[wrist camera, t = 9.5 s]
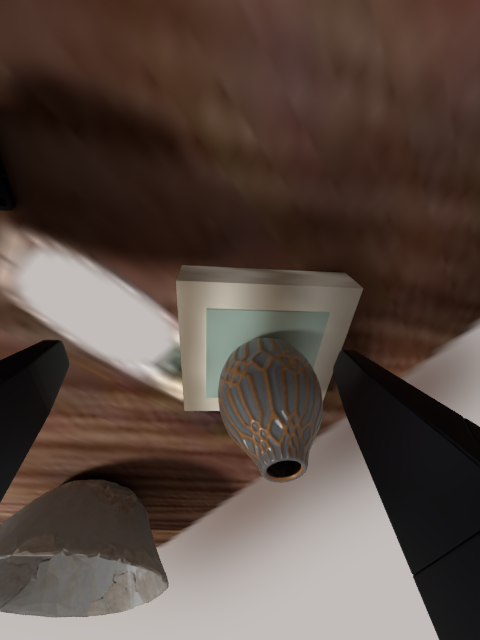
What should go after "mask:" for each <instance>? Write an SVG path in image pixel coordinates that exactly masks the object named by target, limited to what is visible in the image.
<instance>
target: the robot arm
mask: <svg viewBox="0 0 480 640" xmlns="http://www.w3.org/2000/svg"><path fill="white" fill-rule="evenodd" d="M2 198H3V199H5V200H6V202H7V205H6V204H4V202H3V201H2ZM15 206H16V203H15V199H14V197H13V194H12V191H11V188H10V185H9V183H8V180H7V177H6V172H5V169H4V166H3V164H2V161H1V158H0V210H4V211H6V210H12V209H14V208H15ZM68 368H69V359H68V356H67V353H66V350H65V347H64V344H63V342H62V341H60V340H43V341H41V342H39V343H37V344H35V345H32V346H30V347H28V348H26V349H24V350H22V351H19V352H17V353H15V354H13V355H11V356H9V357H6V358H4V359H2V360H0V502H1V500H2V499H3V497H4V495H5V493H6V491H7V489H8V488H9V486H10V484H11V482H12V480H13V479H14V477H15V475H16V473H17V471H18V470H19V468H20V466H21V464H22V462H23V461H24V459H25V457H26V455H27V453H28V452H29V450H30V448H31V446H32V444H33V442H34V441H35V439H36V437H37V435H38V433H39V432H40V430H41V428H42V426H43V424H44V423H45V421H46V419H47V417H48V415H49V413H50V411H51V409H52V406H53V404H54V402H55V399H56V397H57V394H58V392H59V390H60V387H61V385H62V382H63V380H64V378H65V375H66V373H67V370H68ZM333 374H334V377H335V381H336V384H337V387H338V391H339V394H340V397H341V401H342V404H343V407H344V410H345V413H346V416H347V418H348V421H349V423H350V425H351V428H352V430H353V433H354V435H355V438H356V440H357V443H358V445H359V447H360V450H361V452H362V454H363V457H364V459H365V462H366V464H367V466H368V469H369V471H370V474H371V476H372V478H373V481H374V483H375V486H376V488H377V490H378V493H379V495H380V498H381V500H382V503H383V505H384V508H385V510H386V512H387V515H388V517H389V519H390V522H391V524H392V527H393V529H394V532H395V534H396V536H397V539H398V541H399V543H400V546H401V548H402V551H403V553H404V556H405V558H406V560H407V563H408V565H409V567H410V570H411V572H412V574H413V578H414V580H415V583H416V585H417V587H418V590H419V592H420V594H421V597H422V599H423V602H424V604H425V606H426V609H427V611H428V614H429V616H430V618H431V621H432V623H433V626H434V628H435V631H436V633H437V635H438V638H439V640H480V427H479V426H477V425H476V424H474V423H473V422H471V421H469V420H468V419H465V418H463V417H462V416H461V415H459V414H458V413H456V412H455V411H453V410H451V409H449V408H448V407H446V406H445V405H443V404H441V403H440V402H438V401H436V400H435V399H433V398H431V397H430V396H428V395H427V394H425V393H423V392H422V391H420V390H419V389H417V388H415V387H414V386H412V385H410V384H409V383H407V382H406V381H404V380H402V379H401V378H399V377H397V376H396V375H394V374H392V373H391V372H389V371H388V370H386V369H384V368H383V367H381V366H379V365H378V364H376V363H375V362H373V361H371V360H370V359H368V358H366V357H365V356H363V355H361V354H360V353H358V352H357V351H355V350H352V349H342V350H341V351H340V352H339V354H338V356H337V359H336V361H335V364H334V367H333Z"/></svg>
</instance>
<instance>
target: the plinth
mask: <svg viewBox="0 0 480 640" xmlns="http://www.w3.org/2000/svg"><path fill="white" fill-rule="evenodd" d="M176 288H177V303H178V318H179V334H180V349H181V364H182V380H183V395H184V410H185V411H220V409H219V403H218V386H219V379H220V375H221V372H222V369H223V367H224V365H225V363H226V361H227V359H228V358H229V356H230V355H231V354H232V352H233V351H234V350H236V349H237V348H238V347H239V346H241V345H242V344H244V343H246V342H248V341H251V340H254V339H258V338H274V339H279V340H282V341H285V342H287V343H289V344H290V345H292V346H294V347H295V348H296V349H297V350H299V351H300V352H301V353H302V354H303V355H304V356H305V358H306V359H307V360H308V361H309V363H310V364H311V366H312V368H313V370H314V372H315V374H316V376H317V378H318V381H319V384H320V387H321V392H322V400H323V399H324V396H325V394H326V391H327V388H328V385H329V383H330V380H331V377H332V374H333V367H334V364H335V361H336V359H337V356H338V354H339V352H340V351H341V349H342V346H343V344H344V341H345V338H346V335H347V333H348V330H349V327H350V324H351V321H352V319H353V316H354V313H355V310H356V308H357V305H358V302H359V299H360V296H361V294H362V291H363V288H362V287H361V286H360V285H359V284H358V283H357V282H355V281H354V280H353V279H352V278H351V277H350V276H348V275H347V274H346V273H337V272H316V271H295V270H274V269H253V268H232V267H211V266H190V265H182V267H181V269H180V272H179V274H178V277H177V279H176Z"/></svg>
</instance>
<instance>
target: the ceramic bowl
mask: <svg viewBox="0 0 480 640" xmlns="http://www.w3.org/2000/svg"><path fill="white" fill-rule="evenodd" d="M167 588H168V580H167V576H166V573H165V572H164V569H163V566H162V563H161V561H160V558H159V555H158V552H157V549H156V546H155V543H154V539H153V535H152V531H151V528H150V523H149V515H148V512H147V510H146V509H145V507H144V505H143V504H142V503H141V501H140V500H139V499H138V498H137V496H136V495H135V493H134V492H133V491H132V490H130V489H129V488H128V487H123V486H120V485H118V484H117V483H114V482H109V481H106V480H86V481H85V480H78V481H72V482H68V483H66V484H63V485H61V486H59V487H57V488H55V489H53V490H51V491H49V492H47V493H45V494H43V495H42V496H40V497H38V498H37V499H35V500H34V501H32V502H31V503H29V504H28V505H27V506H25V507H24V508H23V509H21V510H20V511H19V512H17V513H16V514H14V515H13V516H12V517H10V518H9V519H7V520H6V521H5V522H3V523H2V524H0V611H1V612H6V613H15V614H21V615H35V616H45V617H88V616H96V615H106V614H111V613H118V612H122V611H126V610H129V609H132V608H134V607H136V606H139V605H142V604H144V603H148V602H150V601H152V600H153V599H155V598H156V597H158V596H159V595H160V594H162V593H163V592H164V591H165V590H166V589H167Z"/></svg>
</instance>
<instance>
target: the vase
mask: <svg viewBox="0 0 480 640" xmlns="http://www.w3.org/2000/svg"><path fill="white" fill-rule="evenodd" d="M218 403H219V409H220V413H221V417H222V420H223V423H224V425H225V427H226V429H227V431H228V433H229V435H230V436H231V438H232V439H233V440H234V441H235V443H236V444H237V445H238V446H239V447H240V448H241V449H242V450H243V451H244V452H245V453H246V454H247V455H248V456H249V457H250V458H251V459H252V460H253V461H254V462H255V464H256V465H257V467H258V469H259V471H260V473H261V474H262V476H263V477H264V478H265V479H267V480H269V481H272V482H288V481H292V480H295V479H297V478H299V477H300V476H302V475H303V474H304V473H305V472H306V470H307V466H308V457H309V451H310V448H311V446H312V444H313V442H314V439H315V437H316V435H317V432H318V430H319V427H320V424H321V420H322V413H323V400H322V392H321V387H320V384H319V381H318V378H317V376H316V374H315V372H314V370H313V368H312V366H311V364H310V363H309V361H308V360H307V359H306V358H305V356H304V355H303V354H302V353H301V352H300V351H299V350H297V349H296V348H295V347H294V346H292V345H290V344H289V343H287V342H285V341H282V340H279V339H274V338H258V339H254V340H251V341H248V342H246V343H244V344H242V345H241V346H239V347H238V348H237V349H236V350H234V351H233V352H232V354H231V355H230V356H229V358H228V359H227V361H226V363H225V365H224V367H223V369H222V372H221V375H220V379H219V386H218Z"/></svg>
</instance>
